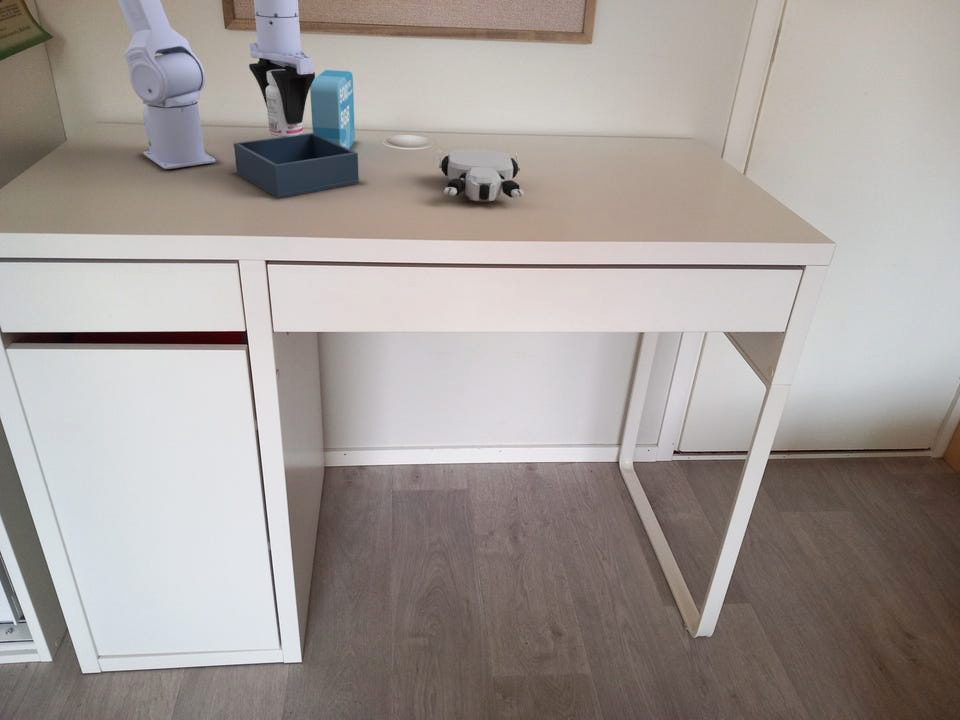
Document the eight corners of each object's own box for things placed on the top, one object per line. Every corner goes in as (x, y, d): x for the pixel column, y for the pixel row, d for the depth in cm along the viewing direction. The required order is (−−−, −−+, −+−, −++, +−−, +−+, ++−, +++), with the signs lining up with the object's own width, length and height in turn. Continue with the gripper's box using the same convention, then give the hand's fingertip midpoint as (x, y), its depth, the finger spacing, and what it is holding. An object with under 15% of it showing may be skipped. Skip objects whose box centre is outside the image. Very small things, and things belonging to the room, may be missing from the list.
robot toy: (526, 215, 104) (515, 175, 117) (529, 184, 102) (517, 147, 114) (440, 212, 103) (438, 173, 116) (441, 181, 101) (438, 144, 113)
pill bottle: (304, 129, 109) (300, 69, 104) (302, 137, 105) (297, 75, 100) (271, 128, 108) (265, 68, 104) (267, 137, 104) (261, 74, 100)
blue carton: (341, 160, 120) (338, 83, 113) (313, 158, 120) (309, 81, 114) (355, 141, 130) (352, 70, 124) (329, 139, 130) (326, 68, 124)
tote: (236, 173, 111) (233, 143, 108) (314, 161, 118) (313, 132, 116) (277, 198, 102) (274, 165, 100) (358, 183, 110) (357, 152, 108)
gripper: (225, 9, 101) (236, 111, 108) (275, 23, 91) (284, 133, 98) (272, 8, 105) (280, 106, 112) (324, 21, 95) (330, 127, 102)
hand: (285, 119), depth 105 cm, fingers closed on pill bottle, 5 cm apart
